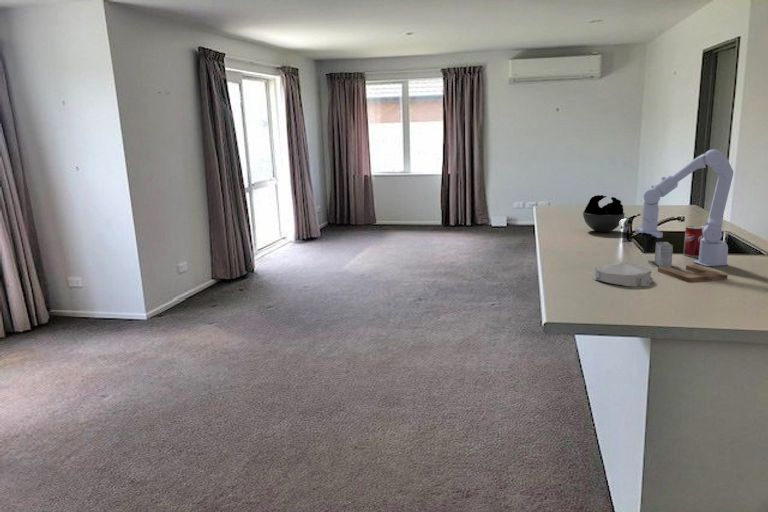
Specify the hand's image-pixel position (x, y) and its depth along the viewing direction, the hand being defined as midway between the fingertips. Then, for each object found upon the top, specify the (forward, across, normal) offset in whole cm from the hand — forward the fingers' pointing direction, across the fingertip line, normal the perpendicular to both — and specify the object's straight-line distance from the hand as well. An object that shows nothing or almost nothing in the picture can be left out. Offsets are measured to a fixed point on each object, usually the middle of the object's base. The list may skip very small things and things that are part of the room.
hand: (647, 252), depth 235 cm
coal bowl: (+3, -62, +18) cm, 65 cm away
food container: (+4, +25, -27) cm, 37 cm away
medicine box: (+3, +10, 0) cm, 11 cm away
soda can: (+3, -2, +23) cm, 23 cm away
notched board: (+3, +26, 0) cm, 26 cm away
